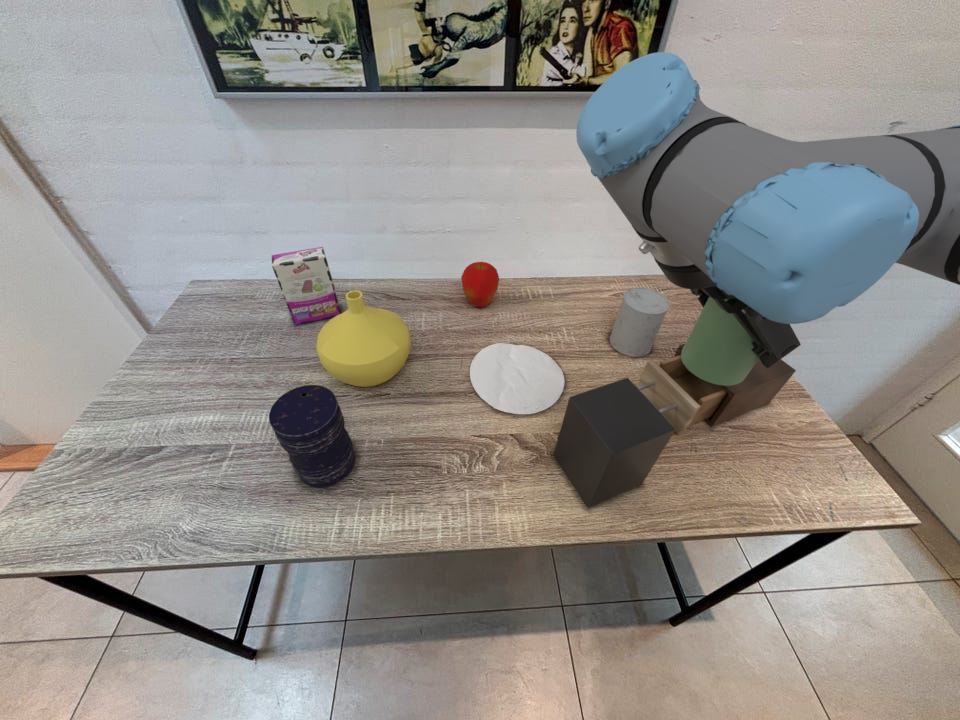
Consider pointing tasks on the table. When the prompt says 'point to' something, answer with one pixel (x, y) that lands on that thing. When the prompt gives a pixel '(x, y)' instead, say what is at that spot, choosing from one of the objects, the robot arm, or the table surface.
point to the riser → (610, 440)
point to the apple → (480, 283)
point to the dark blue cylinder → (313, 435)
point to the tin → (718, 347)
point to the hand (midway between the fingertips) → (747, 335)
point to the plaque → (516, 378)
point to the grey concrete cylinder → (638, 321)
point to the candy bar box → (306, 285)
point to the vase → (363, 344)
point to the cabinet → (750, 390)
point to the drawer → (680, 393)
